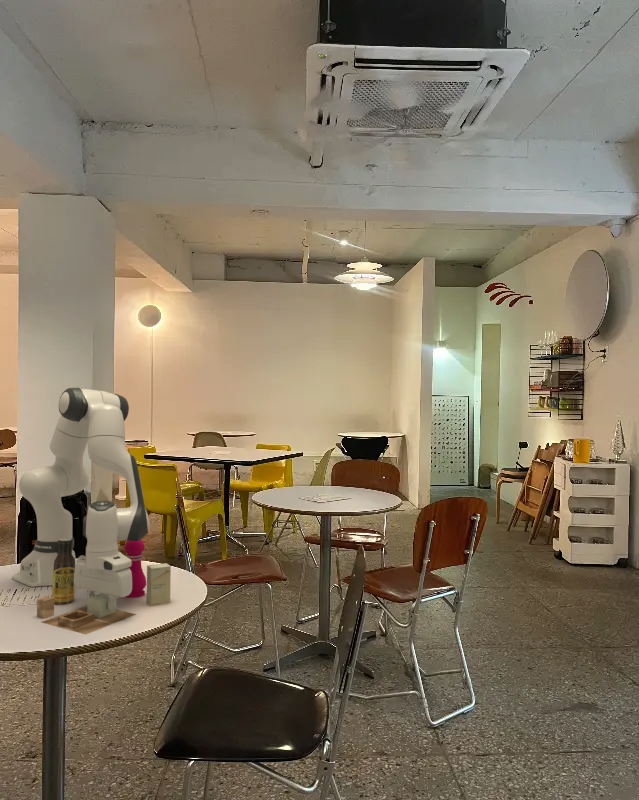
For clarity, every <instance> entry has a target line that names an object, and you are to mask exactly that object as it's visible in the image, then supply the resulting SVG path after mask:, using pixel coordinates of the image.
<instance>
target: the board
mask: <svg viewBox="0 0 639 800" xmlns="http://www.w3.org/2000/svg"><path fill="white" fill-rule="evenodd" d="M136 615H137V614H136V613H134V612H129V611H124V610H121V609H120V610H119V609H117V608H116V612H114V613H112V614H109V615H106V616H104V617H101V618H98V617H94V614H91V613H87V605H85V606H82V607H80V608H76V609H73V610H71V611H67V612H66V613H62V614H59V615H57V616H54V617H53V616H52V617H51V618H50V617H49V618H48V619H47V618H46V619H45V620H42V621H41V623H43V624H46V625H50V626H53V627H57V628H60V629H65V630H68V631H71V632H76V633H79V634H83V635H88V634H91V633H93V632H95V631H98V630H102V629H103V628H106V627H108V626H111V625H113V624H116V623H118V622H120V621H124V620H126V619H129V618H131V617H134V616H136Z"/></svg>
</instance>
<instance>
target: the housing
mask: <svg viewBox="0 0 639 800" xmlns="http://www.w3.org/2000/svg"><path fill="white" fill-rule="evenodd" d="M109 600H110V598H108V594H103V593H98V594H95V596H92V597H87V602H86V603H87V605H86V606H87V613H91V614H94V617H98V618H101V617H104V616H106V615H109V614H112V613H114V612H116V609H117V600H116V601H115V603H114V609H112V610H108V609H106V603H108V602H109Z"/></svg>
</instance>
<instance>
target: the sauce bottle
mask: <svg viewBox="0 0 639 800" xmlns="http://www.w3.org/2000/svg"><path fill="white" fill-rule="evenodd" d="M72 543H73V539H72V538H61V539H59V540H58V545H59V552H58V555H57V557H56V559H55V560H54V570H53V585H51V586H52V588H51V589H52V593H51V594H52V595H51V597H53V598H54V606H65V605H68V604H69V605H70V604H72V603H73V602H74V599H75V588H76V587H75V585H74V572H75V559H76V558H75V559H74V557H73V555H72Z"/></svg>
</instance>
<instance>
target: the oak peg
mask: <svg viewBox="0 0 639 800" xmlns="http://www.w3.org/2000/svg"><path fill="white" fill-rule="evenodd" d="M53 616H54V617H55V605H54V598H53V597H52V596H49V595H45V596H42V597H39V598H37V599H36V617H37V618H41V619H45V620H46V619H47V618H48V619H49V618H50V617H51V618H52V617H53Z"/></svg>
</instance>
